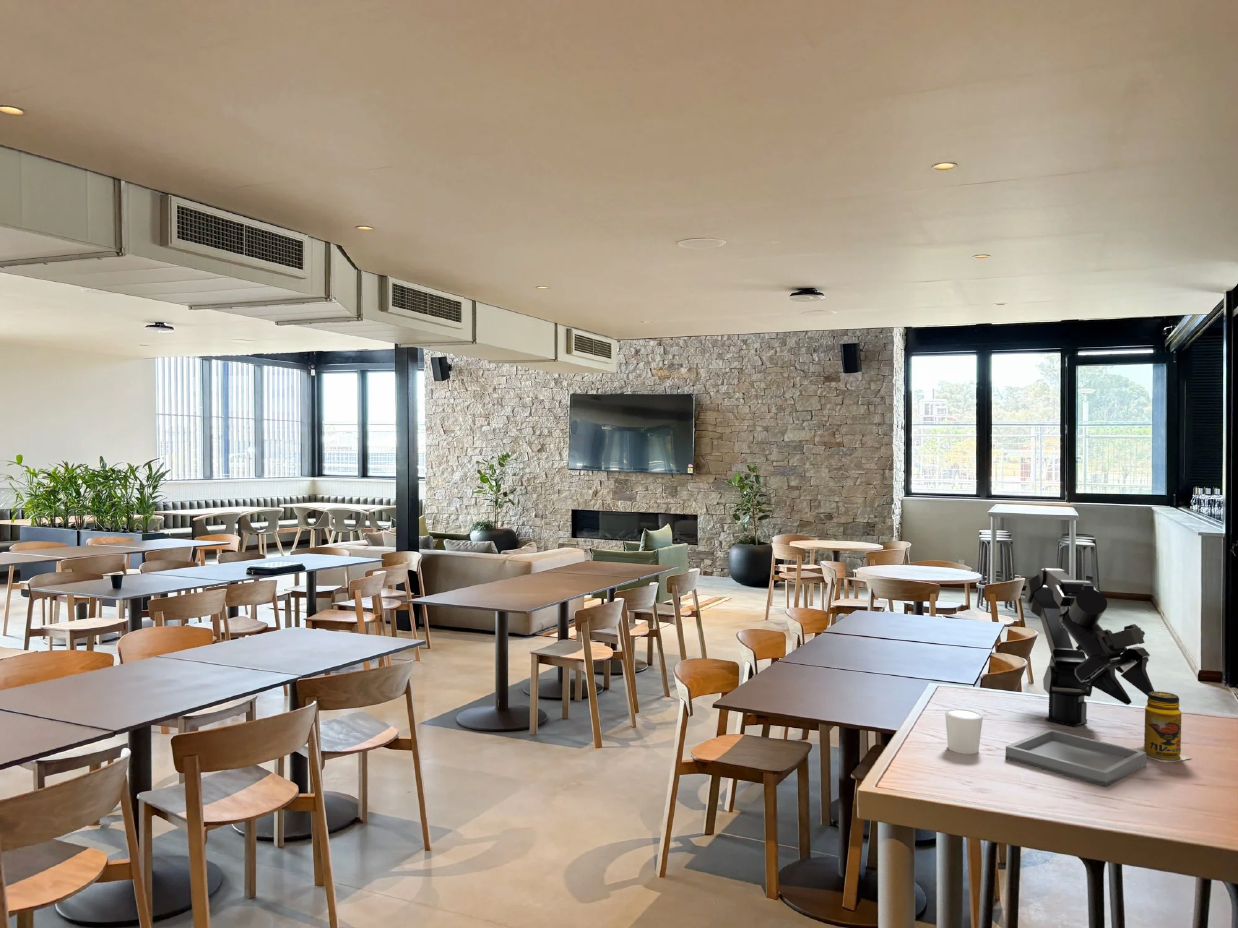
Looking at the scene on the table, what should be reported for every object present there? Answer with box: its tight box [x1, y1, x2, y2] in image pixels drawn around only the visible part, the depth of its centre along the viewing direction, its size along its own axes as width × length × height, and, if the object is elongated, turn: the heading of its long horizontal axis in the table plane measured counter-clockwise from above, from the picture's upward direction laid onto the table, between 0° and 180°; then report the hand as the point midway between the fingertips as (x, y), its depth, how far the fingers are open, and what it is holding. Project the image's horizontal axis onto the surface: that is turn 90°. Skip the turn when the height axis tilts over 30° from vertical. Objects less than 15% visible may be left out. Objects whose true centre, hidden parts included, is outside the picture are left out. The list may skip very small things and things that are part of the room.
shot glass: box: [944, 708, 984, 755], centre depth 177 cm, size 7×7×7 cm
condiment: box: [1130, 690, 1191, 763], centre depth 176 cm, size 7×8×12 cm
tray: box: [1004, 728, 1147, 787], centre depth 170 cm, size 18×18×2 cm
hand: (1142, 700), depth 178 cm, fingers open, 9 cm apart
